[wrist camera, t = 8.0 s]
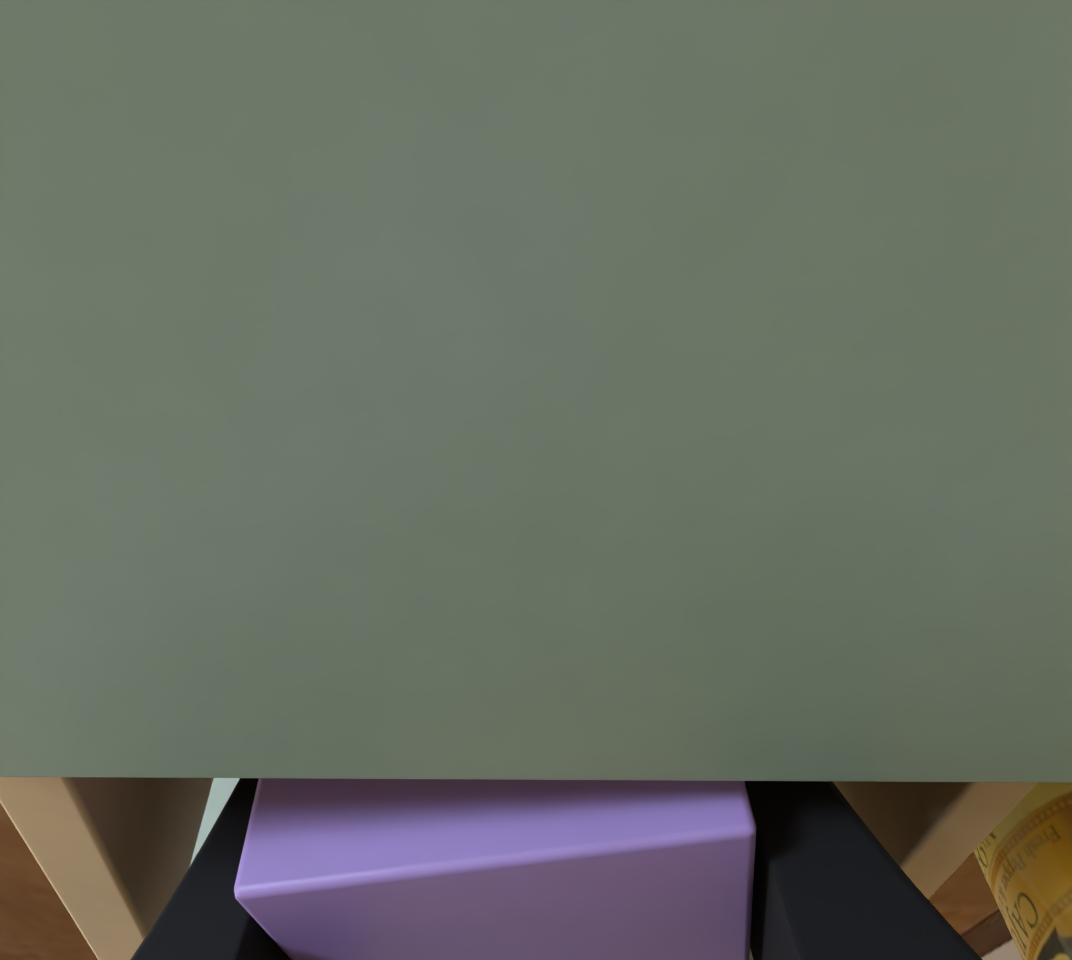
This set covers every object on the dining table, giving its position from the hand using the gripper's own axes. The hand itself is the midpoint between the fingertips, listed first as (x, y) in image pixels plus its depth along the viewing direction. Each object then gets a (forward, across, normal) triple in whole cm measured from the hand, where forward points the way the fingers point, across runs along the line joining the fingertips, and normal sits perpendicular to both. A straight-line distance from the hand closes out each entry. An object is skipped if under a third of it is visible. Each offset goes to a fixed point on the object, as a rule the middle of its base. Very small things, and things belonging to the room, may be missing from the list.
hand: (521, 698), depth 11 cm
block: (+1, 0, 0) cm, 1 cm away
